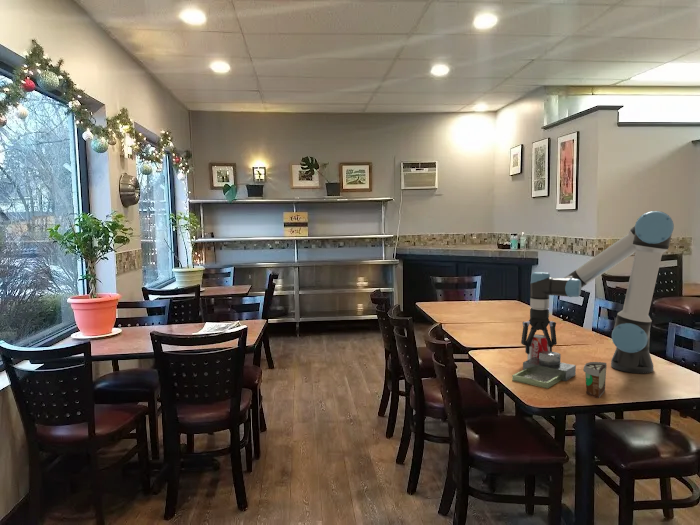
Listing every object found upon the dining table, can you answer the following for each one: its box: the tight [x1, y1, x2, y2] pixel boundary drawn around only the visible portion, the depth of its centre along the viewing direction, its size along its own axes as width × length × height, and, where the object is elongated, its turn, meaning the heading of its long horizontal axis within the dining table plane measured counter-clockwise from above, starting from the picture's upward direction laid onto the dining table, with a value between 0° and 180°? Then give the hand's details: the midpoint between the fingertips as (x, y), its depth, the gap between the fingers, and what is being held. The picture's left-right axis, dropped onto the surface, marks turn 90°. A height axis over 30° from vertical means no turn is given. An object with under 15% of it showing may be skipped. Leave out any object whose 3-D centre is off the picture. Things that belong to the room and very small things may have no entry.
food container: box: [582, 361, 608, 399], centre depth 170 cm, size 12×6×10 cm, turn 141°
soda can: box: [530, 333, 548, 358], centre depth 206 cm, size 7×7×12 cm
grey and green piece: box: [511, 350, 577, 389], centre depth 188 cm, size 17×23×8 cm
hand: (538, 360), depth 207 cm, fingers closed on soda can, 7 cm apart
